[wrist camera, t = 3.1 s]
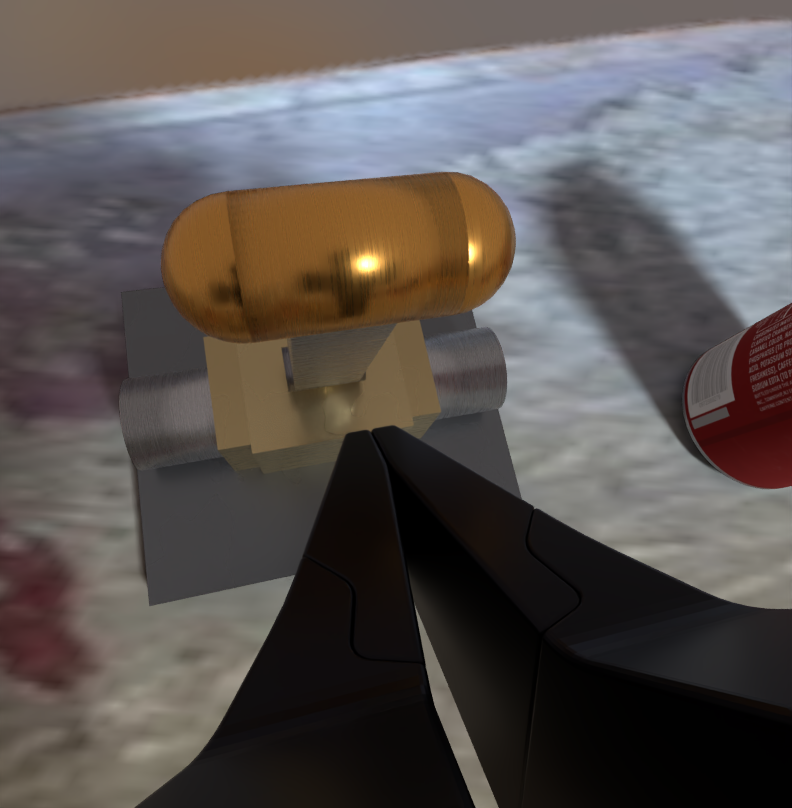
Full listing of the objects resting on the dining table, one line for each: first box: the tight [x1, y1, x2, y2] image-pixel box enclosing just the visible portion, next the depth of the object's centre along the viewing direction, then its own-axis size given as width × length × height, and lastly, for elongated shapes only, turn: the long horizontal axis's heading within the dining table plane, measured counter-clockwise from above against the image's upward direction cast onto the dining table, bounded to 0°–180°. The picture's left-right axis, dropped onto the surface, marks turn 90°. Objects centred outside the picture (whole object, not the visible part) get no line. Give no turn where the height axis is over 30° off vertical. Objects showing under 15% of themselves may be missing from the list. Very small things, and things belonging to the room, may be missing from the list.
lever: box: [161, 172, 516, 392], centre depth 13 cm, size 2×5×11 cm, turn 102°
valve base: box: [119, 287, 522, 606], centre depth 21 cm, size 12×14×5 cm
